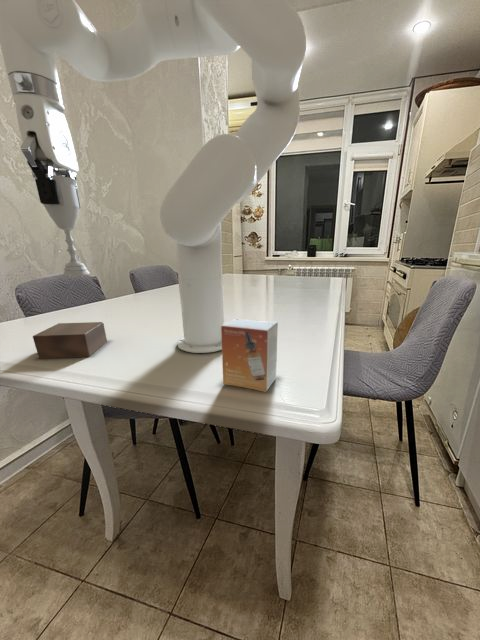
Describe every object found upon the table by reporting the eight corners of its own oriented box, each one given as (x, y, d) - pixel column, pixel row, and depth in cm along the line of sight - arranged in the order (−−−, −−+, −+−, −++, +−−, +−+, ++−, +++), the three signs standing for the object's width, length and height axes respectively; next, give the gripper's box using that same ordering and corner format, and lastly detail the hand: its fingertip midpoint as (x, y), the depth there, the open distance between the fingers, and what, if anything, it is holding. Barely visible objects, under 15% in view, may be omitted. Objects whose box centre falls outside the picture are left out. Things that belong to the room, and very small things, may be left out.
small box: (222, 385, 49) (219, 325, 46) (235, 372, 54) (234, 317, 51) (267, 392, 47) (267, 330, 43) (277, 378, 52) (278, 321, 48)
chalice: (76, 276, 58) (54, 173, 52) (48, 275, 60) (23, 175, 54) (102, 272, 65) (85, 181, 59) (77, 272, 67) (57, 182, 60)
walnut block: (107, 341, 71) (103, 321, 69) (89, 356, 62) (84, 334, 60) (63, 343, 70) (58, 323, 68) (38, 358, 60) (32, 336, 59)
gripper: (30, 71, 44) (58, 201, 50) (83, 117, 60) (99, 211, 66) (-25, 68, 43) (11, 200, 49) (44, 115, 59) (64, 210, 66)
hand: (62, 205), depth 58 cm, fingers closed on chalice, 7 cm apart
